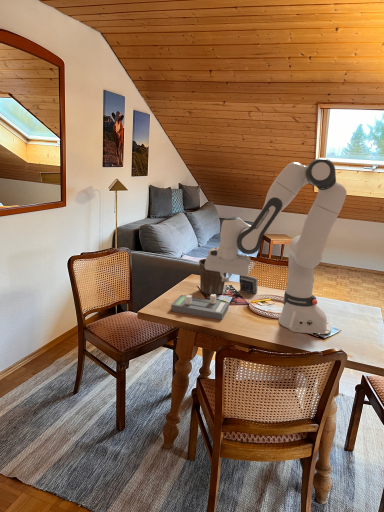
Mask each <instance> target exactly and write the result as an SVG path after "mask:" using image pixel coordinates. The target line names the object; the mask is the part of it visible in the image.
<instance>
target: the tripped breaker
mask: <svg viewBox="0 0 384 512" xmlns="http://www.w3.org/2000/svg"><path fill="white" fill-rule="evenodd" d="M209 300H210V303H212V304H215V303H216V301H217V295H214V294H211V295H209Z"/></svg>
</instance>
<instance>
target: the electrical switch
mask: <svg viewBox="0 0 384 512" xmlns="http://www.w3.org/2000/svg"><path fill="white" fill-rule="evenodd" d="M239 291H241V292H243V293H248V294H251V295H254V294H255V293H257V292H258V278H257V277H255V276H251V275H247V276H242V275H240V278H239Z"/></svg>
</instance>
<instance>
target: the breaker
mask: <svg viewBox="0 0 384 512" xmlns="http://www.w3.org/2000/svg"><path fill="white" fill-rule="evenodd" d="M185 296H186V299H185V304H188V305H190V304H191V303H192V297H193V295H191V294H187V295H185Z"/></svg>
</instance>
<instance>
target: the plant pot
mask: <svg viewBox="0 0 384 512" xmlns="http://www.w3.org/2000/svg"><path fill="white" fill-rule="evenodd" d="M205 261H206V258H201V259H199V260H198V264H199V274H200V276H199V282H200V284H199V285H200V287H199V288H200V289H199V290H200V292H201V293H203V294H205V295H208V294H216V296H218V295H222V294H223V293H224V287H225V283H226V282H222V277H221V275H220V272H218V271H212V270H206V269H205V267H204V266H205ZM223 275H224V277H226V278H227V275H228V273H224V274H223Z"/></svg>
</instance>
